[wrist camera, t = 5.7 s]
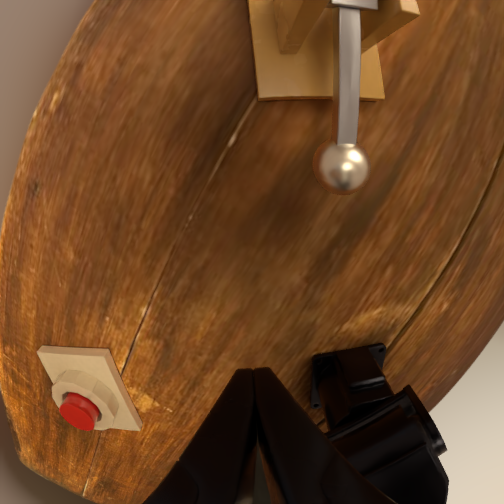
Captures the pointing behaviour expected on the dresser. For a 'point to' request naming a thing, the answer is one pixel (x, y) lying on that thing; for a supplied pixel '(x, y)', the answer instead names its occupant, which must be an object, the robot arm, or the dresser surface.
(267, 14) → the tap bracket
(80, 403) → the button
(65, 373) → the button block
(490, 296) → the dresser surface
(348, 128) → the tap lever
